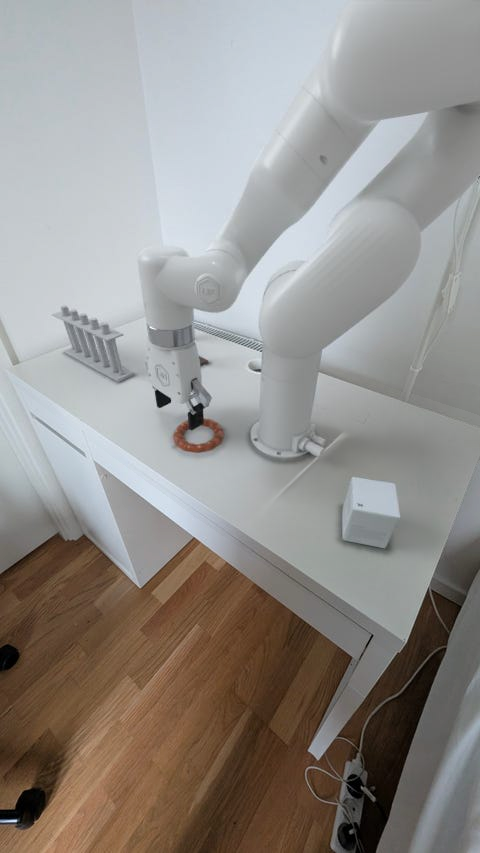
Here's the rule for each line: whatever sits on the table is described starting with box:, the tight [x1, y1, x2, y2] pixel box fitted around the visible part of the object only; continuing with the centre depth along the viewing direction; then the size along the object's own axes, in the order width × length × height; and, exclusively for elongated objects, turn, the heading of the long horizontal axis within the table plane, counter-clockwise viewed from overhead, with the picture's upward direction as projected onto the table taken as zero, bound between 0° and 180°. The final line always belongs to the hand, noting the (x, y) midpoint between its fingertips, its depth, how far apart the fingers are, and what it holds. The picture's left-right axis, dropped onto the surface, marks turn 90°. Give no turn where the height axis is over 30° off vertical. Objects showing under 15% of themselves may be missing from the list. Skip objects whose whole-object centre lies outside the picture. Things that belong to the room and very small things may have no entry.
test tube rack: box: [51, 305, 134, 383], centre depth 85 cm, size 25×4×13 cm, turn 51°
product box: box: [341, 476, 401, 549], centre depth 48 cm, size 6×6×7 cm
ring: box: [172, 417, 225, 454], centre depth 65 cm, size 10×10×2 cm
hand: (179, 415), depth 66 cm, fingers open, 9 cm apart
